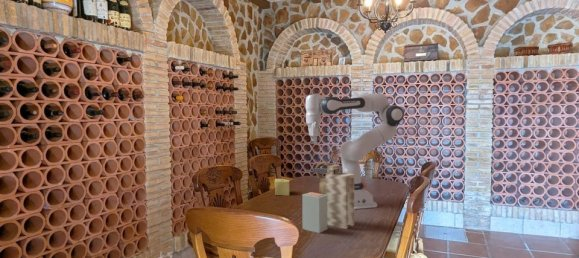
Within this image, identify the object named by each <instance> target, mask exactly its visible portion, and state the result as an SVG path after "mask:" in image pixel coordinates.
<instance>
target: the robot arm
mask: <svg viewBox="0 0 579 258" xmlns="http://www.w3.org/2000/svg"><path fill="white" fill-rule="evenodd" d="M345 110H346V111H347V110H356V111H358V112H360V113H370V112H371V113H372V112H376V114H377V117H378V119H379V120H380V121H381V123H380V124H379V125H378V126H375V127H373V128H372V129H370V130H368V131H366V132H365V133H363V134H362V135H361V136H360V137H358V138H357V139H355V140H353V141H352V140H346V141H344V142H342V144H341V145H340V148H339V151H340V159H341V161H340V162H341V171H342V172H341V173H349V174H354V210H359V209H360V210H361V209H370V208H371V209H372V208H377V207H378V203H377V202H375V201H374V197H373V195H372V193H370V192H369V191H368V190H366V189H365V188H366V187H367V184H365V183H363V182H361V181H362V180H361V178H362V175H361V174H362V172H361V165H360V161H361V160H363V158H364V157H365V156H367V155H368V154H369V153H370V152H372V151H373V150H374V149H377V148H378V147H380V146H381V145H383V144H386V143H387V142H388V141H390V140H391V139H392V138H394V137H395V136H396V135H397V127H398V126H399V125H400V123H401V122H402V121H403V119H404V117H405V112H404V109H403V108H402V107H400V106H399V105H397V104H396V105H394V104H389V99H388V97H387V95H386V94H384V93H376V92H375V93H374V92H371V93H362V94H360V95H357V96H355V97H352V98H351V97H350V98H348V97H347V98H338V97H334V96H326V97H325V96H322V95H321V94H319V93H316V92H315V93H314V92H313V93H311V94H308V95H307V96H306V97H305V111H306V113H305V121H306V122H305V123H306V125H307V127H308V128H307V129H308V135H309V137H310V139H311V144H312V145H313V144H314V145H317V144H318V137H319V136H320V129H319V127H320V124H321V123H322V119H321V118H322V116H321V115H324V116H326V115H327V116H329V115H333V114H336V113H338V112H340V111H345Z"/></svg>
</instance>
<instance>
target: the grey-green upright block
mask: <svg viewBox="0 0 579 258" xmlns="http://www.w3.org/2000/svg"><path fill="white" fill-rule="evenodd" d="M301 195H302V197H301V198H302V199H301V200H302V206H301V208H302V209H301V210H302V212H301V213H302V215H301V216H302V217H301V218H302V224H301V225H302V226H301V227H302V230H305V231H310V232H313V233H318V234H320V233H321V234H322V233H323V232H325V231H326V230H328V225H327V195H324V194H321V193H320V192H318V193H317V192H313V191H311V192H310V191H309V192H308V193H303V194H301Z"/></svg>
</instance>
